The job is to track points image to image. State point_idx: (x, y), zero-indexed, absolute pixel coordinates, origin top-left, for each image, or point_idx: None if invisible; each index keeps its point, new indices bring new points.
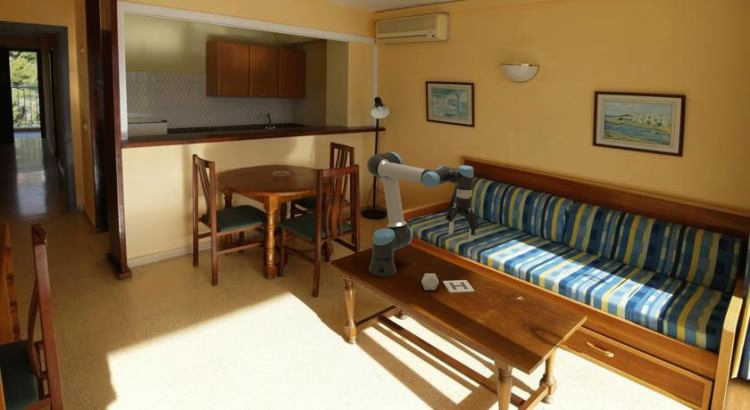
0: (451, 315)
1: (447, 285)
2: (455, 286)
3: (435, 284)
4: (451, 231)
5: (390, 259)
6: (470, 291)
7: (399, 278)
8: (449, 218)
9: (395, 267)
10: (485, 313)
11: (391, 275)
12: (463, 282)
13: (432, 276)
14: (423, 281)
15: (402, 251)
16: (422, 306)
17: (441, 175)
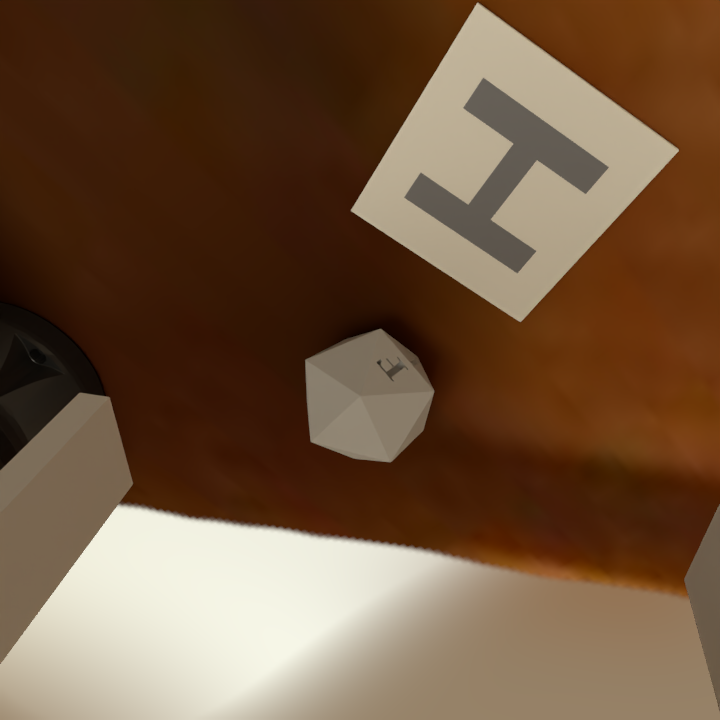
0: None
1: (433, 249)
2: (492, 215)
3: (427, 411)
4: (93, 474)
5: (12, 451)
6: (646, 183)
7: (153, 380)
8: None
9: (35, 348)
10: None
11: (101, 390)
12: (491, 81)
13: (385, 445)
14: (357, 458)
15: None
16: (509, 543)
17: None
